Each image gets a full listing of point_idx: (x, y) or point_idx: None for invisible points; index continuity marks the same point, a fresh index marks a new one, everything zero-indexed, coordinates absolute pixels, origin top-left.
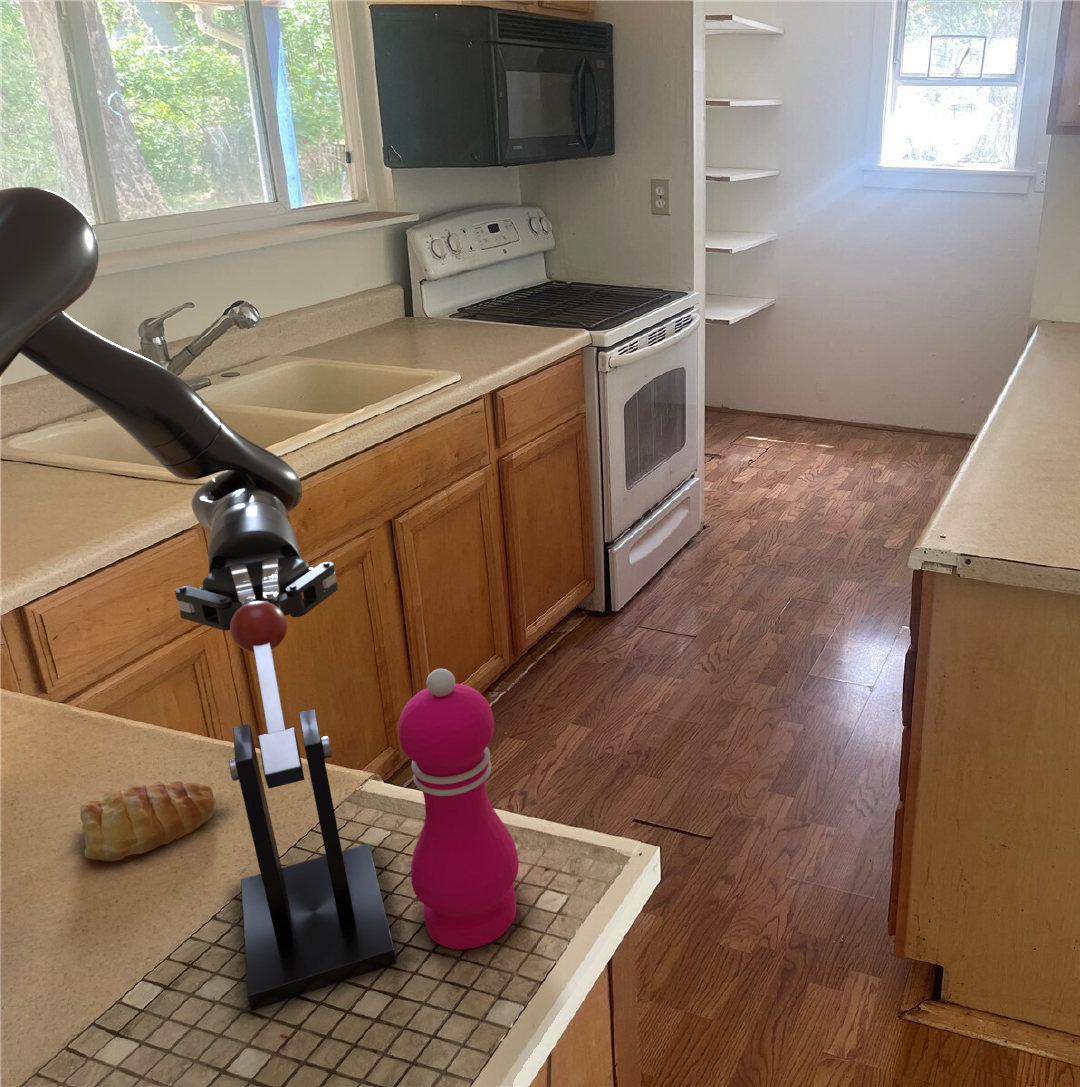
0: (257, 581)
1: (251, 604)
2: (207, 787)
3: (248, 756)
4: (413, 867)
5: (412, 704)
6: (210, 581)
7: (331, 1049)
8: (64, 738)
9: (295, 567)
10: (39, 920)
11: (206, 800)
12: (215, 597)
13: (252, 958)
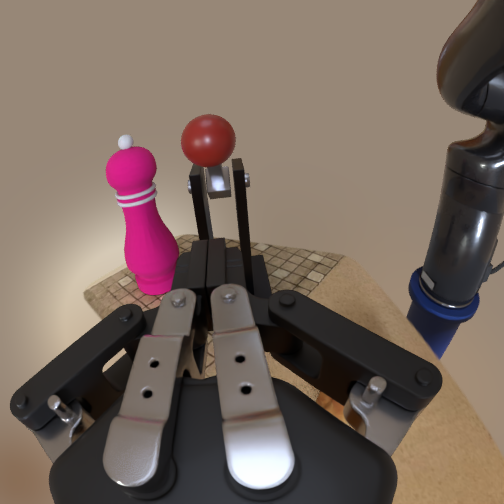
0: (199, 394)
1: (207, 114)
2: (325, 408)
3: (233, 159)
4: (174, 240)
5: (142, 149)
6: (363, 441)
7: (231, 245)
8: None
9: (80, 444)
10: (397, 325)
11: (321, 392)
12: (310, 319)
13: (262, 268)
